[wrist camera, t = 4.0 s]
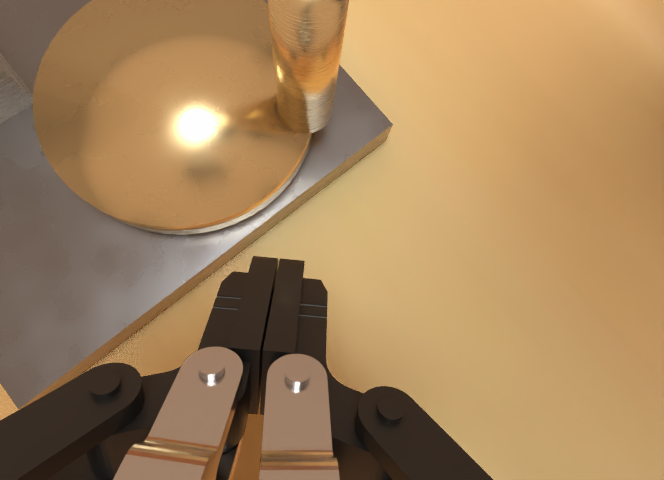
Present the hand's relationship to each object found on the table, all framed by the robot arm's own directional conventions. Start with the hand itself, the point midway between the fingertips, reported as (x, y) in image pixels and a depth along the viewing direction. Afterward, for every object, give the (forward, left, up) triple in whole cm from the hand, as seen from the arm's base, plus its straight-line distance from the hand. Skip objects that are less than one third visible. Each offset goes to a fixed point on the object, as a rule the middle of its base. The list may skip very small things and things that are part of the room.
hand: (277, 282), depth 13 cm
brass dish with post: (-2, -11, -8) cm, 13 cm away
